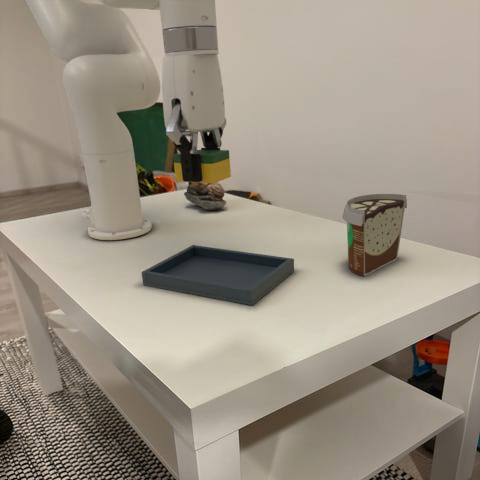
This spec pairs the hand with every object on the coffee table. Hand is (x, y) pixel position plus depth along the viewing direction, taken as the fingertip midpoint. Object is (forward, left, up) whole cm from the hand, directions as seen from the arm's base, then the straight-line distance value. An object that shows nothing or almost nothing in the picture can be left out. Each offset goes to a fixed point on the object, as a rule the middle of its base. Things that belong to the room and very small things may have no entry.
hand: (202, 176), depth 79 cm
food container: (+24, +8, -14) cm, 29 cm away
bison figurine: (-20, +30, -14) cm, 38 cm away
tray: (+6, -6, -14) cm, 16 cm away
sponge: (0, 0, 0) cm, 0 cm away
